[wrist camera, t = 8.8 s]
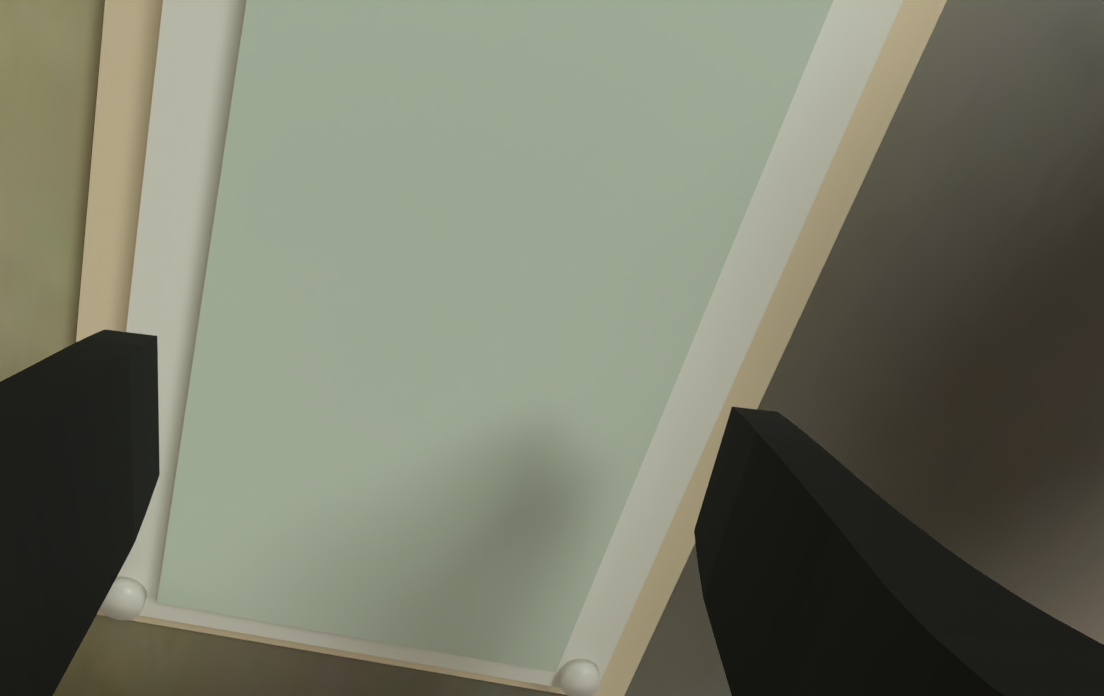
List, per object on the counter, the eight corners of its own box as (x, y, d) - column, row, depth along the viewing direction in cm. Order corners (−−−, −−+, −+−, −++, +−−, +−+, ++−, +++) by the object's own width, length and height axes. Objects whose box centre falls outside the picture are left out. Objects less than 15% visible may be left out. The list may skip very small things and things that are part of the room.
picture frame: (1009, -178, 14) (1083, -178, 12) (617, 682, 22) (628, 757, 20) (164, -499, 12) (107, -555, 10) (64, 586, 20) (23, 660, 18)
